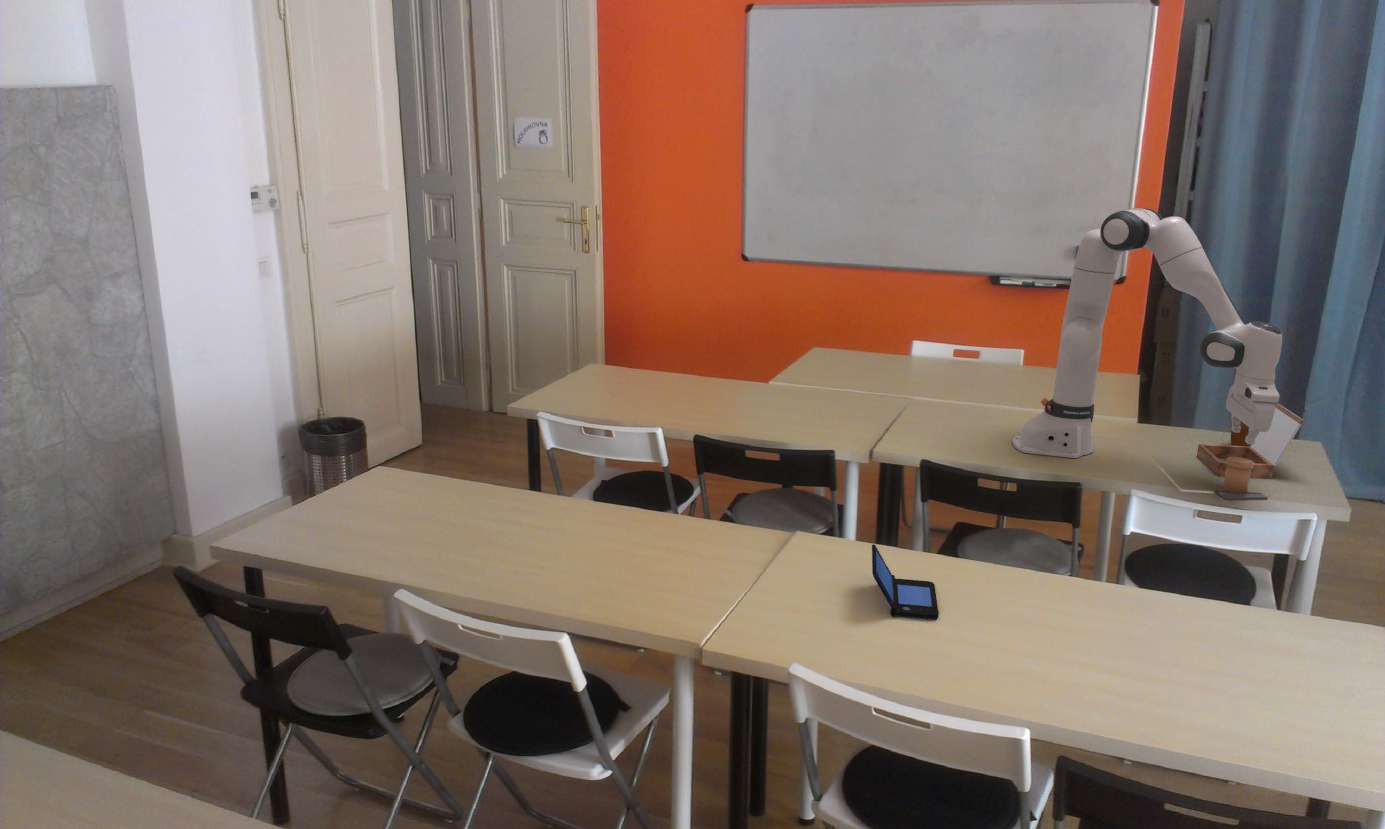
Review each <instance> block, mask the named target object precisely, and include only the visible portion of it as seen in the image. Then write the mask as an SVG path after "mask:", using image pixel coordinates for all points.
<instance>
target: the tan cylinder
mask: <svg viewBox="0 0 1385 829" xmlns="http://www.w3.org/2000/svg"><path fill="white" fill-rule="evenodd" d="M1226 464H1227V470H1226V475H1225V476H1224V482H1223V489H1224V490H1226V491H1229V492H1232V493H1239V494H1243V493H1247V492H1248V489H1249V483H1250V474H1251V469H1253V467H1254V462H1253V461H1252V460H1249V459H1246V458H1241V457H1228V458H1227V460H1226Z"/></svg>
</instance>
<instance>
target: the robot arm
mask: <svg viewBox="0 0 1385 829" xmlns="http://www.w3.org/2000/svg"><path fill="white" fill-rule="evenodd" d="M1141 249H1148V250H1150V252H1151V253H1152V254H1153V255H1154V257H1155V259H1156V262H1157V264H1158V267H1159V268H1160V270H1161V273H1162V274H1163V276H1164V278H1165V279H1166V281H1167V282H1168V283H1169V285H1170V286H1171V287H1172V288H1173V289H1175V290H1177V291H1179V292H1183V293H1186V294H1188V295H1190V296H1191V297H1194V298H1196V299H1197V300H1198V301H1199V303H1201V304H1202V305H1203V307H1204V308H1205V310H1206V312H1207V313H1208V315H1209V318H1210V319H1211V320H1212V322H1213V324H1214V326H1215V328H1216V330H1215V331H1212V332H1210V333H1208V334H1207V335H1206V336H1204V337H1203V339H1201V342H1200V344H1199V353H1200V356H1201V358H1202V360H1203V361H1204V362H1205V363H1206V364H1207V365H1209V366H1211V367H1215V368H1225V369H1226V368H1234V369H1235V370H1236V372H1235V375H1234V376H1235V377H1234V381H1233V383H1232V385H1231V386H1230V388H1229V390H1228V395H1227V397H1226V402H1225V409H1226V411H1227V412H1229V413H1230V414H1231V413H1232V415H1230V416H1231V418H1230V419H1231V420H1232V427H1231V426H1230V431H1231V430H1232V431H1233V432H1234V433H1239V432H1240V429H1241V426H1240V421H1242V422H1243V423H1244V424H1245V425H1247V426H1248V427H1249V434H1248V436H1246V438H1245V442H1246V443H1247V444H1251V445H1253V444H1254V443H1255V438H1256V437H1257V436H1258V434H1259V432H1267V431H1268V430H1269V429H1270V427H1271V424H1272V420H1273V416H1274V412H1275V404H1276V403H1279V402H1280V401H1279V400H1280V393H1279V391H1278V390H1277V387H1276V384H1275V381H1276V380H1275V379H1276V368H1277V365H1278V364H1279V362H1280V358H1281V351H1282V347H1283V334H1282V331H1281V330H1280V328H1278V327H1277V326H1275V325H1273V324H1271V323H1268V322H1264V321H1258V320H1257V321H1255V320H1254V321H1251V322H1249V323H1247V322H1246V321H1245V320H1244V319H1243V318H1242V315H1241V314H1240V313H1239V311H1238V309H1237V308H1236V306H1235V303H1234V302H1233V300H1232V299H1231V297H1230V295H1229V293H1228V291H1227V290H1226V288H1225V287H1224V285H1223V283H1222V282H1221V281H1220V279H1219V277H1218V275H1217V274H1216V272H1215V271H1214V268H1213V265H1212V264H1211V262H1210V260H1209V258H1208V256H1207V253H1206V252H1205V250H1204V248H1203V245H1202V244H1201V242H1200V240H1199V238H1198V236H1197V235H1196V233H1195V232H1194V230H1193V228H1192V227H1191V226H1190V224H1189V223H1188V222H1187V221H1186V219H1184V218H1183V217H1180V216H1168V217H1164V218H1163V216H1162V215H1161V214H1160V213H1158V212H1157V211H1155V210H1154V209H1151V208H1144V207H1143V208H1139V207H1138V208H1137V207H1136V208H1134V207H1133V208H1129V209H1126V210H1125V209H1124V210H1119V211H1116V212H1113V213H1111V214H1110V215H1108V216H1107V217H1106V218H1105V219H1104V220H1103V222H1102V224H1101V226H1100V228H1096V229H1091V230H1089V231H1087V232H1086V233H1085V234H1084V235H1083V237H1082V239H1081V241H1080V245H1079V247H1078V250H1077V253H1076V257H1075V261H1074V265H1073V270H1072V275H1071V280H1070V285H1069V291H1068V295H1067V300H1066V305H1065V310H1064V314H1063V320H1062V326H1061V331H1060V338H1059V340H1060V341H1059V347H1058V355H1057V363H1056V372H1055V379H1054V388H1053V394H1052V395H1053V396H1052V399H1050V400H1048V398H1046V397H1045V398H1044V397H1043V398H1042V399H1041V401H1040V404H1041V405H1042V406H1043V407H1044V411H1042V412H1041V413H1039V414H1038V415H1036V416H1034V417H1032V418H1030V419H1028V420H1027V421H1026V422H1025V423H1023V427H1022V429H1021V431H1020V432H1021V433H1020V435H1015V436H1014V437H1012V441H1011V444H1012V445H1013V447H1014V448H1015V449H1016V450H1017V451H1019V452H1021V453H1025V454H1033V455H1043V456H1050V457H1060V458H1070V459H1077V458H1081V457H1082V456H1086V455H1090V454H1091V453H1093V451H1094V449H1093V448H1094V447H1093V443H1092V423H1093V420H1094V415H1095V403H1094V400H1095V392H1096V385H1097V384H1096V383H1097V378H1098V372H1099V366H1100V359H1101V352H1102V347H1103V346H1102V345H1103V330H1104V326H1105V321H1106V315H1107V312H1108V309H1109V304H1110V301H1111V297H1112V291H1113V287H1114V283H1115V282H1114V281H1115V276H1116V274H1117V273H1116V272H1117V267H1118V262H1119V259H1120V258H1121V254H1123V253H1124V252H1129V251H1138V250H1141Z"/></svg>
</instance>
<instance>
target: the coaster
mask: <svg viewBox="0 0 1385 829" xmlns="http://www.w3.org/2000/svg"><path fill="white" fill-rule="evenodd" d="M1213 493H1214V494H1217V495H1218V496H1220V497H1221V498H1223V500H1225V501H1234V500H1235V501H1237V500H1238V501H1240V500H1241V501H1245V500H1246V501H1248V500H1249V501H1250V500H1251V501H1254V500H1261V501H1262V500H1266V501H1267V500H1268V499H1269V498H1268V496H1266V495H1265V494H1263V493H1261V492H1248V491H1247V493H1243V494H1239V493H1232V492H1231V491H1228V490H1226V491H1223V490H1213Z"/></svg>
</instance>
